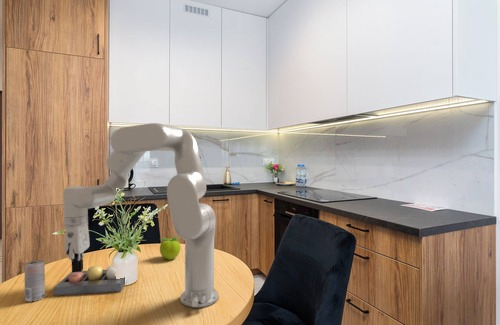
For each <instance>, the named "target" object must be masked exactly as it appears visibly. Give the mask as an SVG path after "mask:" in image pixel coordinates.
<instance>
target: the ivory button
mask: <svg viewBox="0 0 500 325" xmlns="http://www.w3.org/2000/svg"><path fill="white" fill-rule="evenodd" d="M106 270H107V280H113V279H116V276H115V274H116V269H114V268H113V267H112V265H108V267H106Z"/></svg>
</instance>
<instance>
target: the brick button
mask: <svg viewBox="0 0 500 325" xmlns="http://www.w3.org/2000/svg"><path fill="white" fill-rule="evenodd" d="M69 274H70V273H69ZM69 274H68V275H69ZM82 280H83V273H82V272H76V273H72V274H70V275H69V282H78V281H82Z"/></svg>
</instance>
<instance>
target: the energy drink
mask: <svg viewBox="0 0 500 325" xmlns="http://www.w3.org/2000/svg"><path fill="white" fill-rule="evenodd" d="M45 273H46V271H45V262H44V260H42V259H40V260H39V259H38V260H36V259H35V260H32V261H28V262H26V263H25V265H24V301H25V302H26V301H28V302H27V303H33V302H32V301H35V302H38V301H37V300H39V301H41V300H43V299H44V298H45V296H46V294H45V293H46V292H45V291H46V289H45V287H46V285H45V282H46V281H45V280H46V279H45V277H46V276H45V275H46V274H45ZM43 297H44V298H43ZM42 298H43V299H42ZM40 299H41V300H40Z"/></svg>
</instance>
